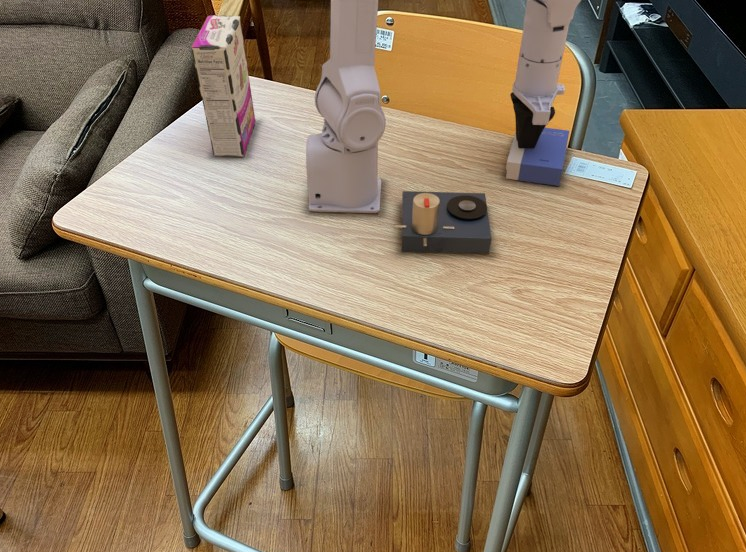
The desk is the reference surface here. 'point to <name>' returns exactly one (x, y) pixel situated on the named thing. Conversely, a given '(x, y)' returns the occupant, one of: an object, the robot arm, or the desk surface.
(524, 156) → the walkman
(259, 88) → the desk surface
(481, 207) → the burner
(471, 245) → the hot plate
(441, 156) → the desk surface
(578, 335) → the desk surface
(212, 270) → the desk surface
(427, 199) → the knob
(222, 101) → the candy bar box
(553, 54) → the robot arm
